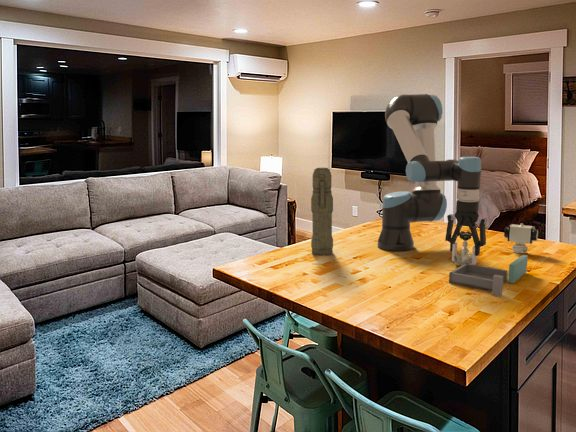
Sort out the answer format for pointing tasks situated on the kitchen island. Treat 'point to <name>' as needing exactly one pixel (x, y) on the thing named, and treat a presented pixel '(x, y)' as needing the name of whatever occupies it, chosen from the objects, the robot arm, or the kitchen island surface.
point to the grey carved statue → (322, 212)
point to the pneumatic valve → (520, 236)
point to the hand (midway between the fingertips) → (463, 261)
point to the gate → (517, 268)
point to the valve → (464, 250)
